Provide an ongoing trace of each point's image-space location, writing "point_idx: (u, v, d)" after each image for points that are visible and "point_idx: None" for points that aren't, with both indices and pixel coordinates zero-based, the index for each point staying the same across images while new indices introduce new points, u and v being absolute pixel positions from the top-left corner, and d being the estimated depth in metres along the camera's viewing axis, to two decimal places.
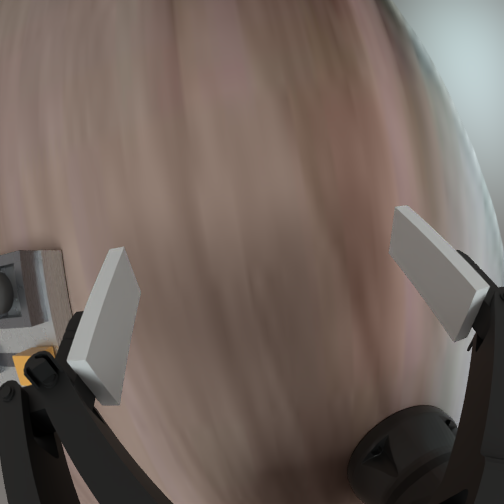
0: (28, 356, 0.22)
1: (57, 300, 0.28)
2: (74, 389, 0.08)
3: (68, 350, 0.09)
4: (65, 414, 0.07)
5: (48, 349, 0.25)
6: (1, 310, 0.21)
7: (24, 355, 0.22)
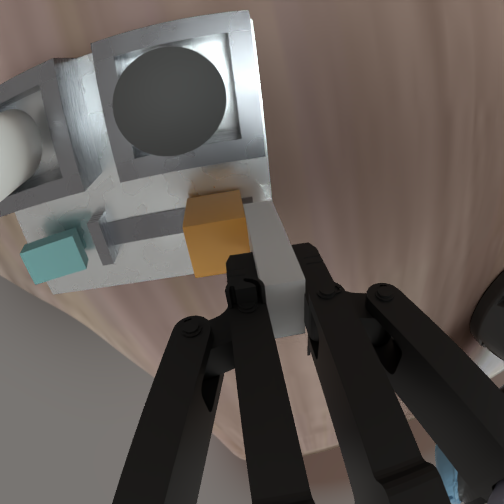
0: (231, 220, 0.15)
1: None
2: (270, 324, 0.09)
3: None
4: (251, 343, 0.09)
5: (240, 196, 0.17)
6: None
7: (216, 219, 0.15)
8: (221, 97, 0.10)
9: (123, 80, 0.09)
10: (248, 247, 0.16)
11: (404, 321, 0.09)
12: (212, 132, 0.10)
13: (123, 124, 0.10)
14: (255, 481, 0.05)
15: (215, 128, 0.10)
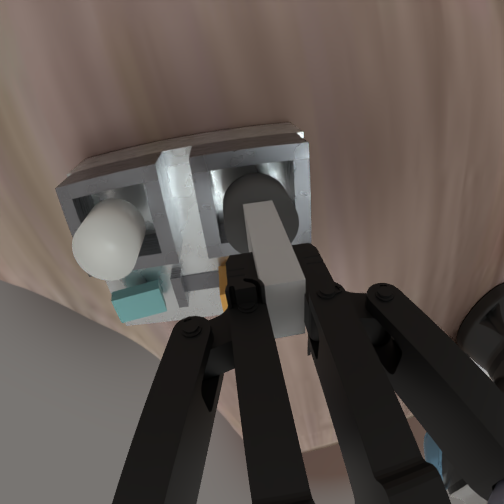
0: None
1: None
2: (270, 324, 0.09)
3: None
4: (251, 343, 0.09)
5: None
6: None
7: None
8: (295, 224, 0.17)
9: (233, 210, 0.16)
10: None
11: (404, 321, 0.09)
12: None
13: (231, 238, 0.17)
14: (255, 481, 0.05)
15: (290, 242, 0.18)
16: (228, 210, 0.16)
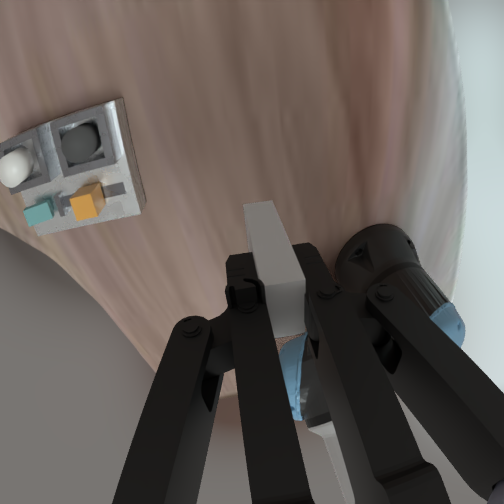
0: (85, 195, 0.33)
1: (125, 138, 0.35)
2: (270, 324, 0.09)
3: None
4: (251, 343, 0.09)
5: (97, 185, 0.35)
6: (93, 152, 0.31)
7: (81, 195, 0.33)
8: (91, 143, 0.29)
9: (63, 139, 0.28)
10: (94, 206, 0.34)
11: (404, 321, 0.09)
12: (90, 154, 0.30)
13: (64, 153, 0.29)
14: (255, 481, 0.05)
15: (90, 153, 0.30)
16: None
